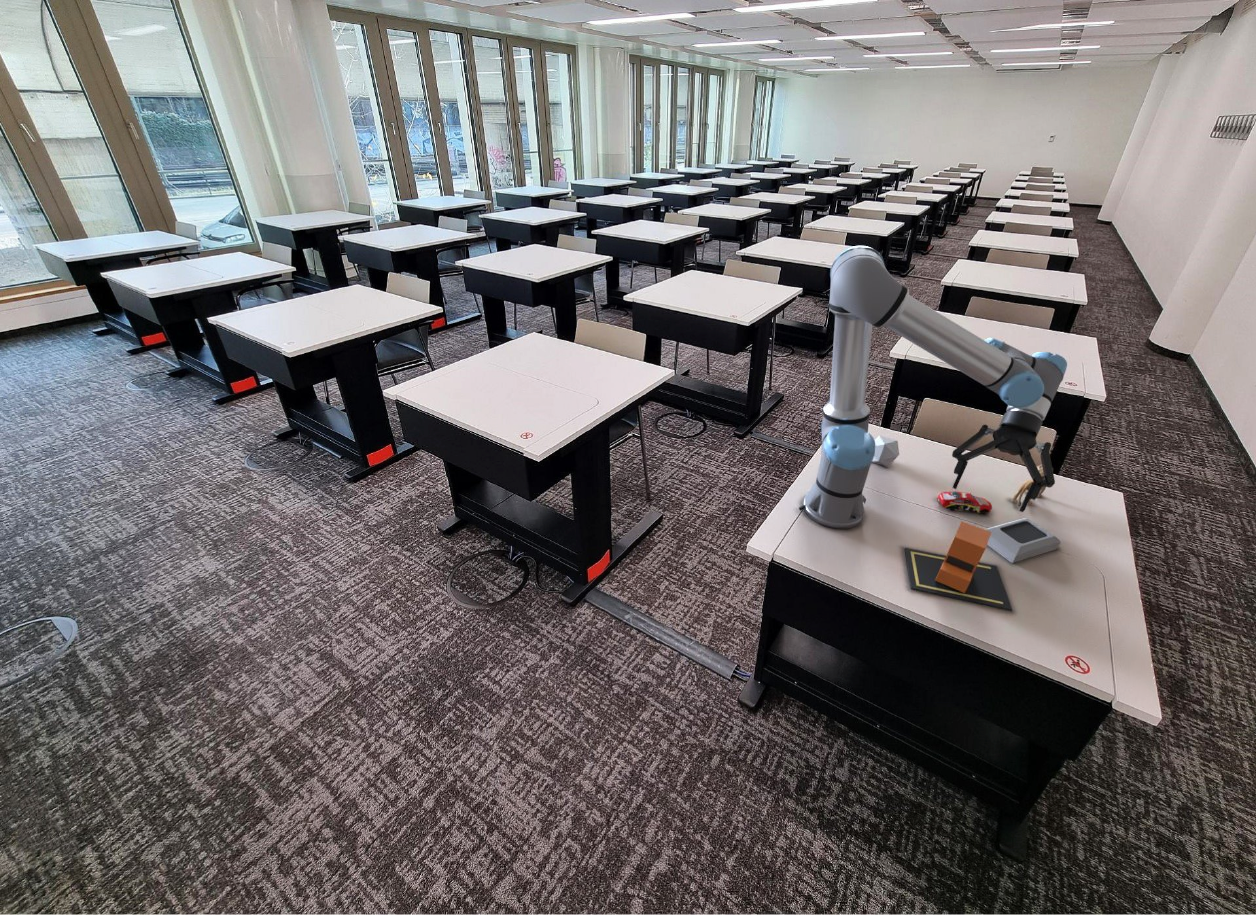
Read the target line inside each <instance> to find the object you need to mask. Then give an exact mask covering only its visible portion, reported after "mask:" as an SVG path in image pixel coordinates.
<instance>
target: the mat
mask: <svg viewBox="0 0 1256 915" xmlns="http://www.w3.org/2000/svg"><path fill="white" fill-rule="evenodd" d="M903 548H904V554H905V560H906V567H907V573H908V574H907V575H908V579H909V586H910V590H912V591H913V590H914V591H917V592H921V593H927V594H932V595H937V596H942V597H946V598H950V599H954V600H959V601H965V602H969V603H972V604H973V603H974V604H977V605H978V604H979V605H983V606H987V607H992V608H997V609H1001V610H1005V611H1011V612H1012V611H1013V608H1012V604H1011V602H1010V600H1009V597H1008V593H1007V590H1006V589H1005V586H1004V582H1003V580H1002V577H1001V575H1000V572H999V569H998V566H997V565H995V564H990V563H984V562H980V561H979V563H978V565H977V567H976V569H975V571H974V573H973V576H972V578H971V581H970V583H969V585H968V587H967V589H966V591H965V593H963V592H960V591H959V590H956V589H954V588H952V587H949V586H947V585H945V584H942V583H940V582H937V581H935V580H936V577H937V575H938V573H939V571H940V568H941V566H942V564H943V562H944V559H945V557H946V555H944V554H939V553H936V552H935V553H934V552H931V551H930V552H929V551H925V550H919V549H913V548H908V547H903Z"/></svg>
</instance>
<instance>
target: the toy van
mask: <svg viewBox="0 0 1256 915" xmlns="http://www.w3.org/2000/svg"><path fill="white" fill-rule="evenodd" d="M990 535H991V532H990V531H987V530H984V528H982V527H979V526H976V525H973V524H971V523H968V522H965V521H962V520H961V521H960V523H959V526H958V528H957V530H956V533H955V535H954V536H953V539H952V542H951V544H950V546H949V548H948V550H947V553H946V555H945V556H946V557H945V559H944V562H943V564H942V566H941V568H940V571H939V573H938V575H937V577H936V580H935V581H937V582H940V583H942V584H945V585H947V586H949V587H952V588H954V589H956V590H959V591H960V592H963V593H965V591H966V589H967V587H968V585H969V583H970V581H971V578H972V576H973V573H974V571H975V569H976V567H977V565H978V563H979V562H980V561H981V559H982V557H983V555H984V553H985V551H986V549H987V546H988V545H987V543H988V541H989V538H990Z"/></svg>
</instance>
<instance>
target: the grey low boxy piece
mask: <svg viewBox="0 0 1256 915" xmlns="http://www.w3.org/2000/svg"><path fill="white" fill-rule="evenodd" d="M983 529H984V528H983ZM984 530H987V531H990V532H991V535H990V538H989V541H988V543H987V546H988V547H989V548H991V549H993V551H995V552H996V553H997V554H998V555H1001V557H1003V558H1004V559H1005V560H1007V561H1008V562H1010V563H1011V564H1014V563H1016V562H1020V561H1023V560H1026V559H1030V558H1032V557H1036V556H1039V555H1042V554H1045V553H1049V552H1051V551H1055V550H1058V548H1059V546H1060V544H1061V540H1060V539H1059V538H1058V537H1057V536H1055V535H1054V534H1052V533H1051V532H1049V531H1048V530H1046V529H1045V528H1043V527H1041V526H1039V524H1037V523H1035V522H1034V521H1032V520H1031V519H1029V518H1028V517H1023V518H1018V519H1016V520H1013V521H1009V522H1005V523H1002V524H999V525H995V526H991V527H988V528H985V529H984Z"/></svg>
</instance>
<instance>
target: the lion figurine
mask: <svg viewBox="0 0 1256 915" xmlns="http://www.w3.org/2000/svg"><path fill="white" fill-rule="evenodd" d="M1036 466H1037V468H1038V470H1039V472H1040V474H1041V476H1042V478H1043V480H1045V478H1044V473H1043V467H1042V464H1040V465H1036ZM1052 469H1053V470H1054V468H1053V467H1052ZM1032 482H1033V480H1032V479H1029V480H1028V479H1027V480H1026V481H1024V483H1023V484H1021V485H1020V487H1019V489H1018V490H1017V491H1016V493H1015V494H1014V495H1013V498H1012V499H1011V502H1012V503H1016V502H1017V501H1018V502H1017V507H1018V508H1020V507H1021V505H1022V497H1023V495H1024V494H1025V492H1026V493H1027V492H1028V489H1029V487H1030V485H1031V484H1032ZM1046 488H1047V487H1042V488H1041V490H1040V492H1039V495H1038V497H1037V498H1042V497H1043V493H1044V492H1045V490H1046ZM1017 499H1018V500H1017ZM1031 500H1032V499H1030V500H1029V502H1028V504H1027V505H1029V506H1032V505H1033V501H1031Z"/></svg>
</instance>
